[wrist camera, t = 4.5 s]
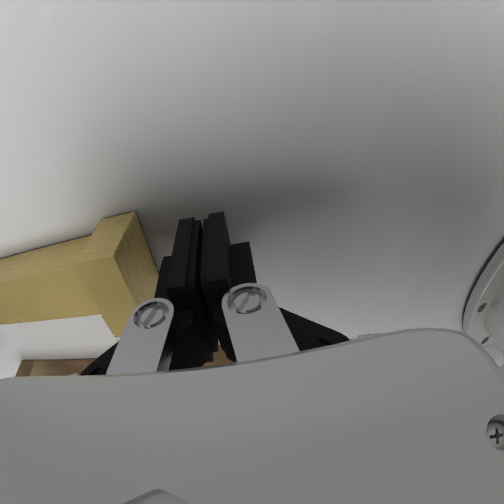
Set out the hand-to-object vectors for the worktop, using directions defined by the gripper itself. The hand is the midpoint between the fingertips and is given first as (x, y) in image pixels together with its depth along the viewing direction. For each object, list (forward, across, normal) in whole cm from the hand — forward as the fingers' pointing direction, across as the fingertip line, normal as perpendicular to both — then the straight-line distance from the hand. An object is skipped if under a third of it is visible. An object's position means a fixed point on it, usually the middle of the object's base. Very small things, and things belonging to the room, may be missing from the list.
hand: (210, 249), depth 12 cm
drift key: (+1, +9, 0) cm, 9 cm away
